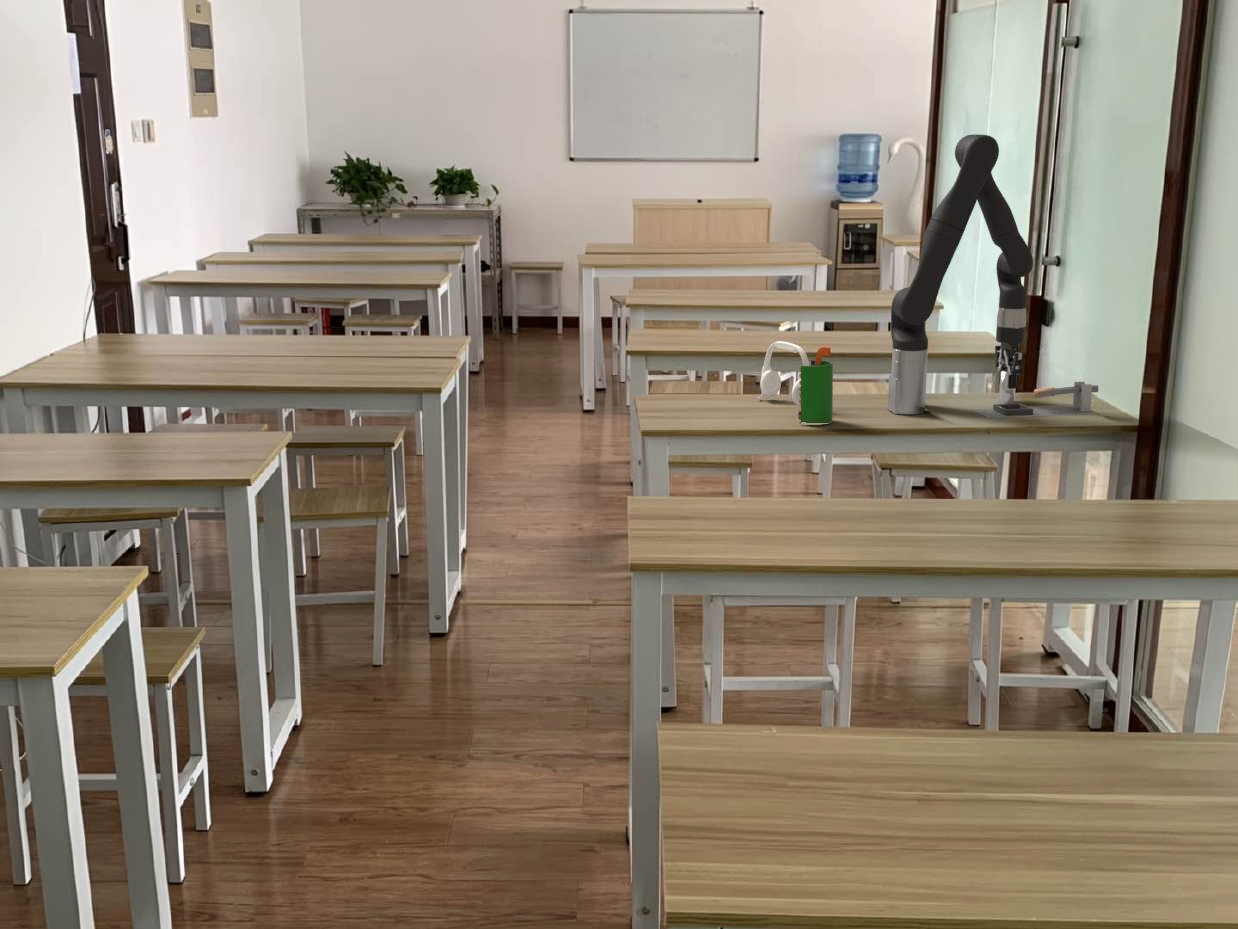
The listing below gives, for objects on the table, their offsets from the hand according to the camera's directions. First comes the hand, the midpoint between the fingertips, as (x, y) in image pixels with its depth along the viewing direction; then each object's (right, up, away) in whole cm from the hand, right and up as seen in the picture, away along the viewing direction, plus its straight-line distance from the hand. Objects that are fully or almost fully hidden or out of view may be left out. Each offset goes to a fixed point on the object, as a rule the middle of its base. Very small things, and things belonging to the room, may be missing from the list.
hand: (1007, 386), depth 339 cm
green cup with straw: (-55, -10, -13) cm, 57 cm away
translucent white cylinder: (0, -6, +1) cm, 6 cm away
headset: (-59, -5, +9) cm, 60 cm away
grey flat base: (+4, -9, -11) cm, 14 cm away
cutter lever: (+12, -3, -11) cm, 17 cm away
